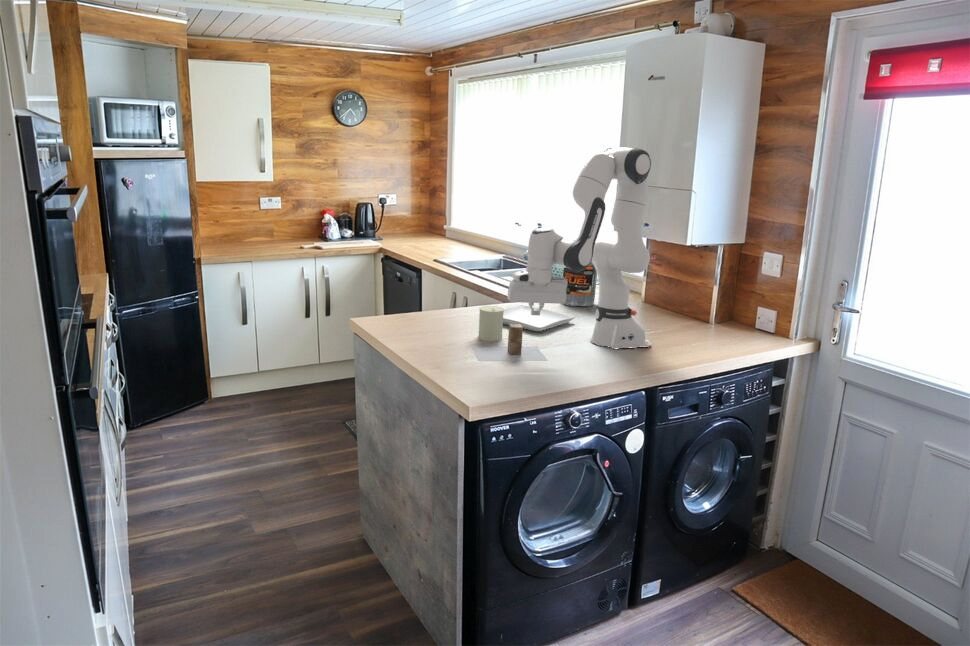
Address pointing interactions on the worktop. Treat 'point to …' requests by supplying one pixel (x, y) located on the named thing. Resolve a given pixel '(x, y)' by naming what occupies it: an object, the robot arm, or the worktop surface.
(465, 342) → the worktop surface
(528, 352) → the grey mat
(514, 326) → the brown box
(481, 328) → the can
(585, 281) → the supplement tub
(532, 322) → the square plate
